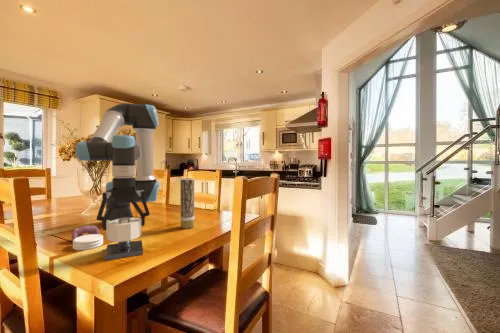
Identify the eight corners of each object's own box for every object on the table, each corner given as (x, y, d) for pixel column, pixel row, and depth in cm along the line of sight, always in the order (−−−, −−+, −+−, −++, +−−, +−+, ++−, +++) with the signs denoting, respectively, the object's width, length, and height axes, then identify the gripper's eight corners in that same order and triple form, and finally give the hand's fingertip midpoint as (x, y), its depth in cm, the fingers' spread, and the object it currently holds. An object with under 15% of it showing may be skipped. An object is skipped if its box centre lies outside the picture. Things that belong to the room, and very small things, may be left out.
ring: (110, 235, 89) (109, 219, 89) (138, 231, 94) (138, 216, 94) (107, 243, 81) (107, 226, 80) (139, 239, 85) (139, 222, 85)
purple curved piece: (99, 240, 104) (97, 224, 106) (101, 237, 101) (99, 222, 103) (71, 245, 97) (69, 229, 99) (73, 243, 94) (71, 226, 96)
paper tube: (190, 229, 116) (190, 179, 115) (178, 228, 117) (178, 178, 116) (196, 225, 122) (196, 178, 122) (184, 224, 124) (184, 177, 123)
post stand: (107, 248, 90) (107, 216, 90) (141, 243, 95) (141, 213, 95) (104, 260, 79) (103, 224, 79) (142, 254, 85) (142, 220, 84)
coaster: (108, 241, 98) (108, 233, 98) (93, 251, 88) (93, 241, 88) (84, 242, 98) (84, 233, 98) (66, 251, 88) (66, 241, 88)
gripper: (85, 178, 78) (86, 244, 79) (157, 176, 88) (157, 235, 89) (89, 177, 85) (89, 237, 85) (155, 175, 95) (155, 229, 96)
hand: (124, 236), depth 87 cm, fingers closed on ring, 10 cm apart
